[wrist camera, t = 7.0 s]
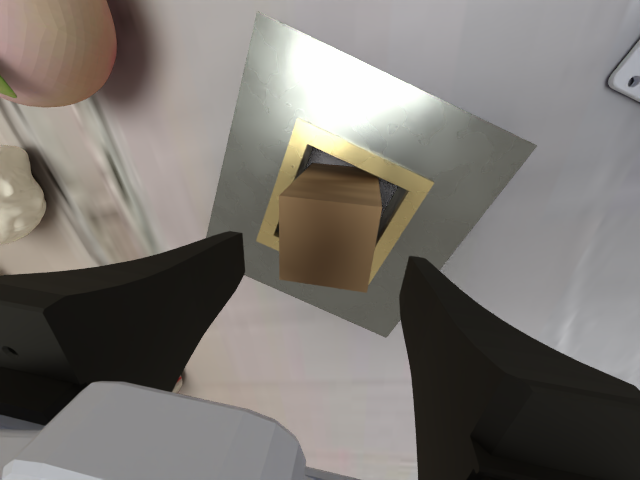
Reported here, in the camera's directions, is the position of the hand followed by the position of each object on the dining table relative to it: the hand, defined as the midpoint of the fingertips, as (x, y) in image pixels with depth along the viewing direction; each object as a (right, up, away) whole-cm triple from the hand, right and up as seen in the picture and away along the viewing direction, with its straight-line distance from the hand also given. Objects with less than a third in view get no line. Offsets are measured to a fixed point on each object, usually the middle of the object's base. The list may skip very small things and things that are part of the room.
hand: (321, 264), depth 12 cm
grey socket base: (+1, +4, +8) cm, 9 cm away
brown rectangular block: (+2, +4, +8) cm, 9 cm away
